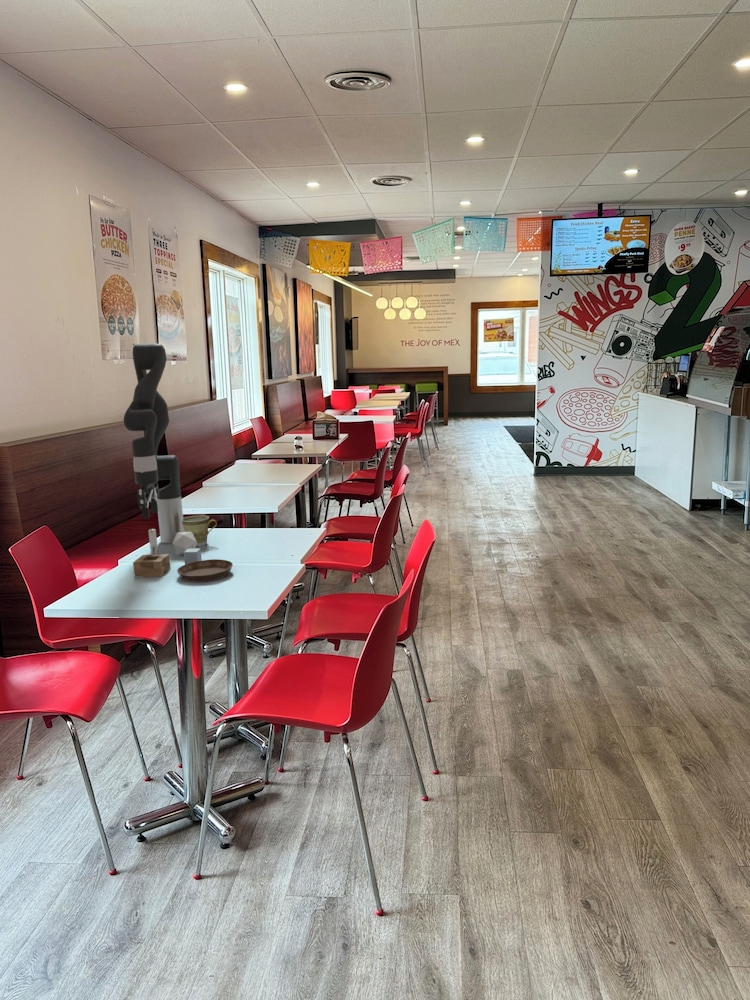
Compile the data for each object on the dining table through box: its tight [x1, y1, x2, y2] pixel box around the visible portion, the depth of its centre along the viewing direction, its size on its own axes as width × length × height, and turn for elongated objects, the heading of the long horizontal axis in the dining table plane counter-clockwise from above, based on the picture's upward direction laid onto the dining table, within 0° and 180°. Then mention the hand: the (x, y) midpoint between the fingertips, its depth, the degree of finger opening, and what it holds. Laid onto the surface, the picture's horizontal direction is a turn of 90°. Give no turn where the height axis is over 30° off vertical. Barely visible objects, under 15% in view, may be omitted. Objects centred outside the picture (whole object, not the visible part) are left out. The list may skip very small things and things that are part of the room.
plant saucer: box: [176, 558, 233, 583], centre depth 243 cm, size 18×18×3 cm
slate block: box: [183, 547, 203, 565], centre depth 256 cm, size 4×4×5 cm
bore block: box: [132, 553, 172, 578], centre depth 248 cm, size 9×9×5 cm
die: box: [172, 532, 197, 556], centre depth 270 cm, size 8×9×10 cm
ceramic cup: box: [182, 515, 218, 547], centre depth 282 cm, size 13×10×10 cm
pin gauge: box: [148, 528, 159, 555], centre depth 258 cm, size 2×2×12 cm
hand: (150, 515), depth 256 cm, fingers open, 8 cm apart
